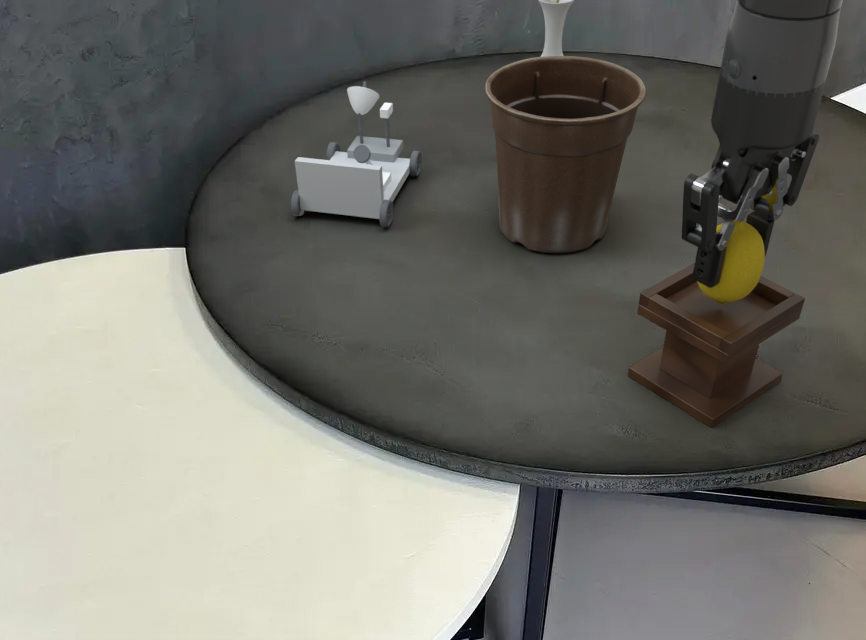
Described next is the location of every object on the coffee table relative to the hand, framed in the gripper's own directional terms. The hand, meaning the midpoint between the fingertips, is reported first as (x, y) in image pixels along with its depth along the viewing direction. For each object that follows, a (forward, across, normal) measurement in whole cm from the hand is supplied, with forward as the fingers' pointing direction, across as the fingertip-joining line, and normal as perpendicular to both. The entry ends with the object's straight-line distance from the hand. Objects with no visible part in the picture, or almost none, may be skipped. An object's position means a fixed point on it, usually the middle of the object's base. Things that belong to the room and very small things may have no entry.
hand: (729, 268), depth 84 cm
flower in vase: (+12, +31, +52) cm, 62 cm away
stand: (+12, 0, 0) cm, 12 cm away
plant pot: (+12, +9, +29) cm, 33 cm away
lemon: (+4, 0, 0) cm, 4 cm away
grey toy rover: (+12, -2, +51) cm, 52 cm away
